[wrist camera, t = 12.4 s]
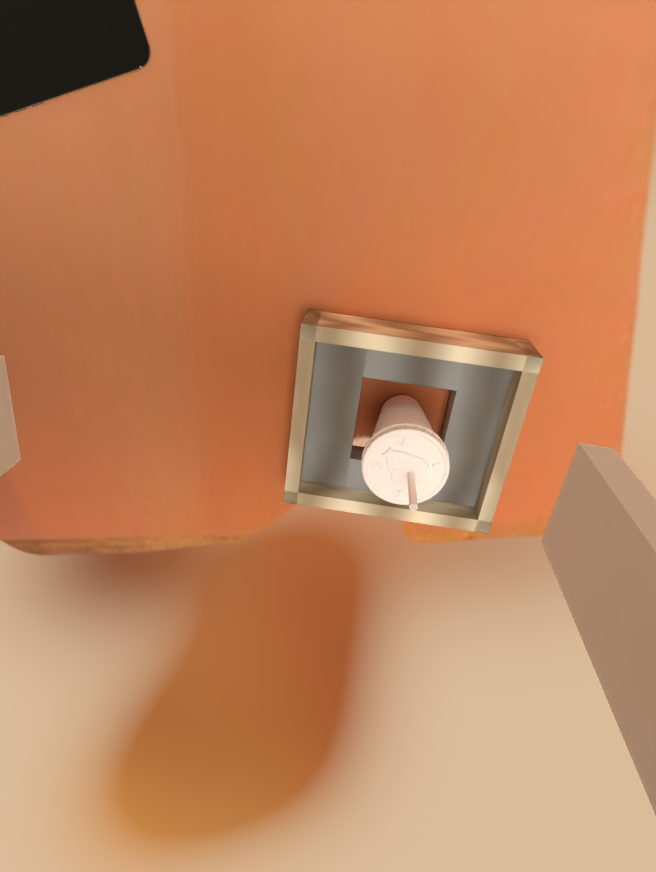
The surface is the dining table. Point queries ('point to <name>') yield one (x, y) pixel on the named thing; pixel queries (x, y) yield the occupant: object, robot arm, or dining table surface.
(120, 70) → the smartphone
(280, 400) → the dining table surface
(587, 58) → the dining table surface
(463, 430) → the socket box
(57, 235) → the dining table surface
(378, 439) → the smoothie
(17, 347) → the dining table surface
